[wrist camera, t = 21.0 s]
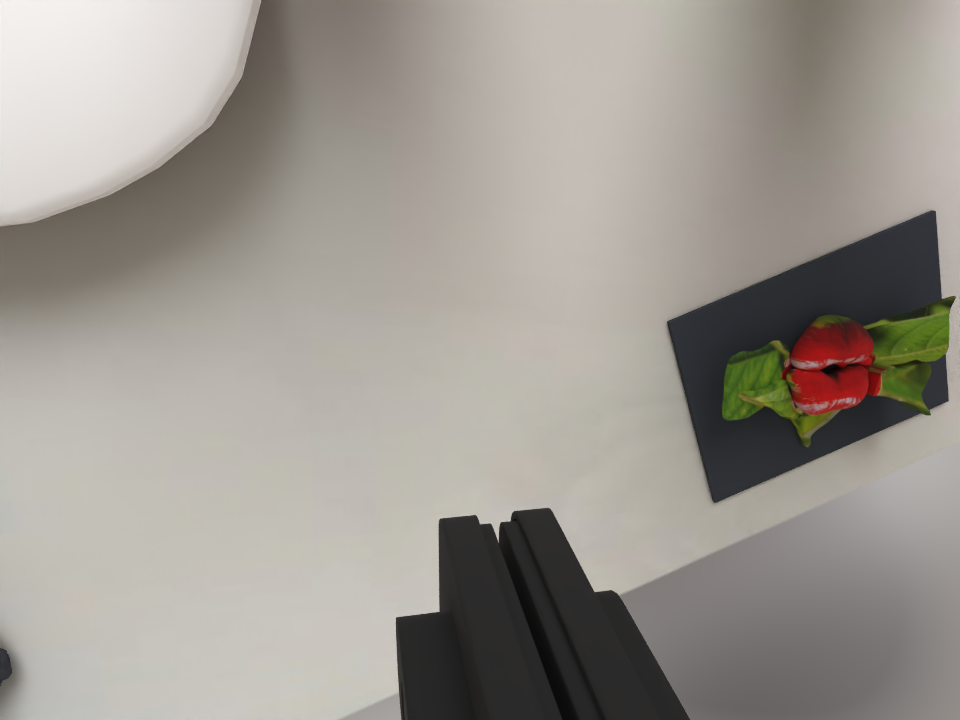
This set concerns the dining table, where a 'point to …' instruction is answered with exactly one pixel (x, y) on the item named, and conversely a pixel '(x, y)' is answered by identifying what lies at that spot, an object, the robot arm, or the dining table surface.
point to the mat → (784, 317)
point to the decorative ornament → (839, 341)
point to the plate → (108, 92)
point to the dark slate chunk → (4, 665)
